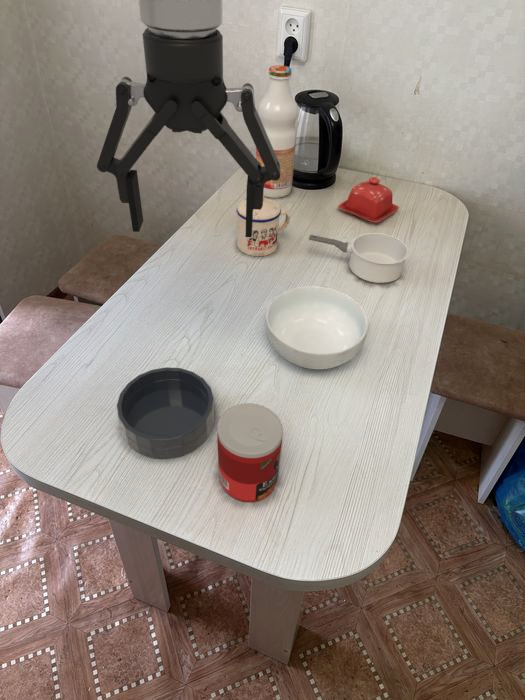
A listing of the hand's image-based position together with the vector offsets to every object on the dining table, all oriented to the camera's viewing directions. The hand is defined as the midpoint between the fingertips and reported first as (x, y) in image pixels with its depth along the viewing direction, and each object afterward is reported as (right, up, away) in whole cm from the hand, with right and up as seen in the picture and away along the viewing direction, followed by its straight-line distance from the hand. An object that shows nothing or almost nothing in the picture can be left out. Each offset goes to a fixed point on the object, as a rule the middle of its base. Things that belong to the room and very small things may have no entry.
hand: (193, 229), depth 62 cm
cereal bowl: (+17, -15, +25) cm, 33 cm away
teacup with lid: (+9, +8, +48) cm, 49 cm away
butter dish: (+34, +18, +60) cm, 72 cm away
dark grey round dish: (-5, -25, +12) cm, 28 cm away
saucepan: (+27, +2, +43) cm, 51 cm away
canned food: (+7, -32, +6) cm, 33 cm away
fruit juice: (+11, +26, +66) cm, 72 cm away
